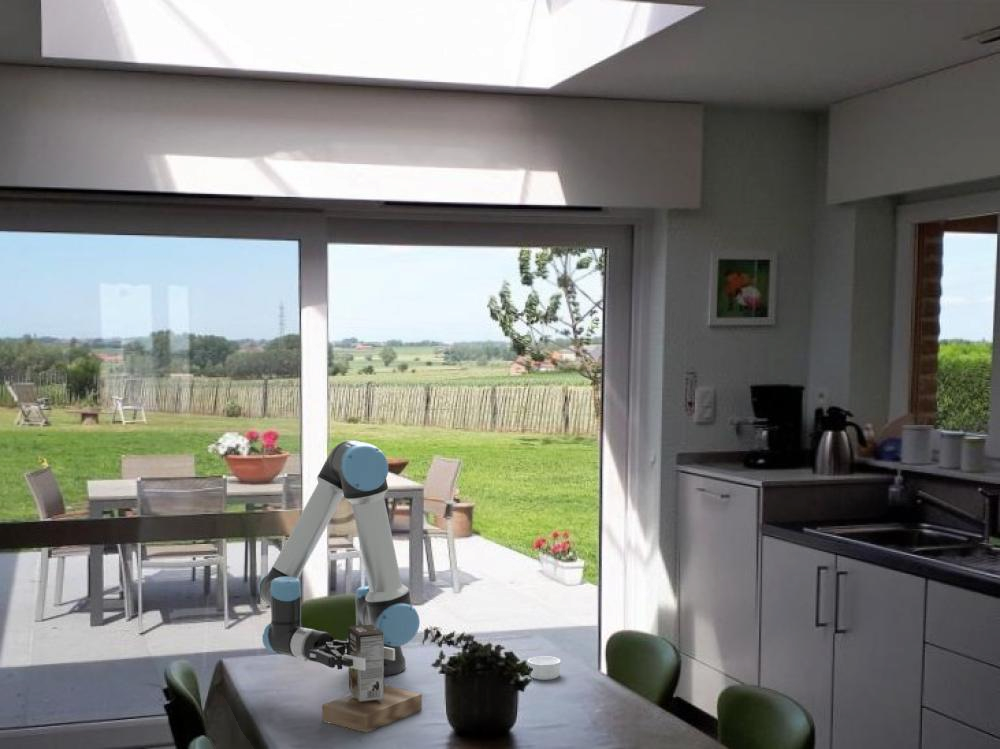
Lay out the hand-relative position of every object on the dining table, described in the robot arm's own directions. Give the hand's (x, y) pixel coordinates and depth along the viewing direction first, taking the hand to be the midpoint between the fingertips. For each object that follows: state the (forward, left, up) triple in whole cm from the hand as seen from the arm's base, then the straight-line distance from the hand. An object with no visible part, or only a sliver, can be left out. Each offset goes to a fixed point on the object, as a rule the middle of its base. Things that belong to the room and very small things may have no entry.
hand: (379, 659), depth 285 cm
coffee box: (0, -4, -10) cm, 11 cm away
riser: (-1, -3, -14) cm, 15 cm away
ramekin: (-52, +12, -15) cm, 55 cm away
